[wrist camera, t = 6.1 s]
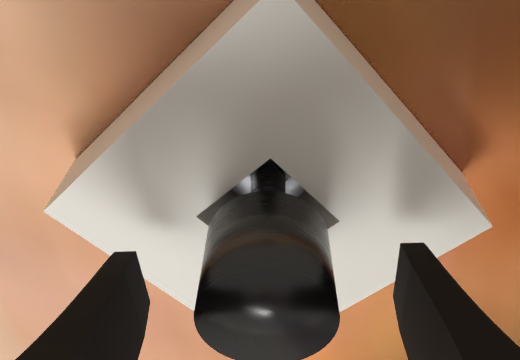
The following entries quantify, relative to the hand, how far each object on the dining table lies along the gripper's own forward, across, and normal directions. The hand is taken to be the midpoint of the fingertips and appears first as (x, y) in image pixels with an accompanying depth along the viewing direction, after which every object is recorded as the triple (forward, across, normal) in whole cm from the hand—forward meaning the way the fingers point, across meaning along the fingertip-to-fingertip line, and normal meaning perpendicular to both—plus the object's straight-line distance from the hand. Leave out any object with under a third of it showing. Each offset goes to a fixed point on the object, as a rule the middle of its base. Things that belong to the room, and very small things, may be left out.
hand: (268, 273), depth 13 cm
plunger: (+5, 0, 0) cm, 5 cm away
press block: (+5, 0, 0) cm, 5 cm away
